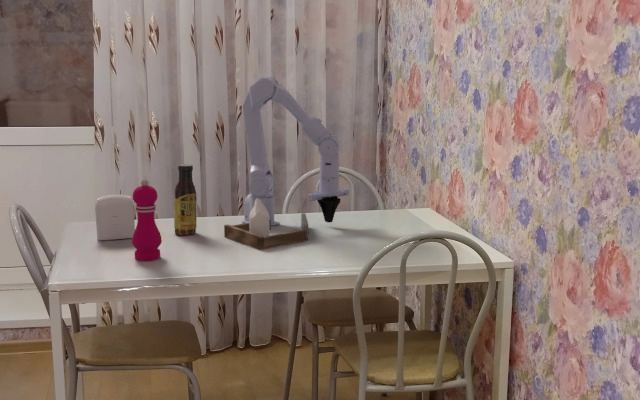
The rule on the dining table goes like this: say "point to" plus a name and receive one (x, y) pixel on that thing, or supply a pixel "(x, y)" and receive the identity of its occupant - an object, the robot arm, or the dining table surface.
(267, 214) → the beige pointed upright block
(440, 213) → the dining table surface
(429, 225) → the dining table surface
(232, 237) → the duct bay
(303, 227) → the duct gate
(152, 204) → the pepper mill
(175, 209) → the sauce bottle
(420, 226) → the dining table surface
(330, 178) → the robot arm
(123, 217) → the photo printer
